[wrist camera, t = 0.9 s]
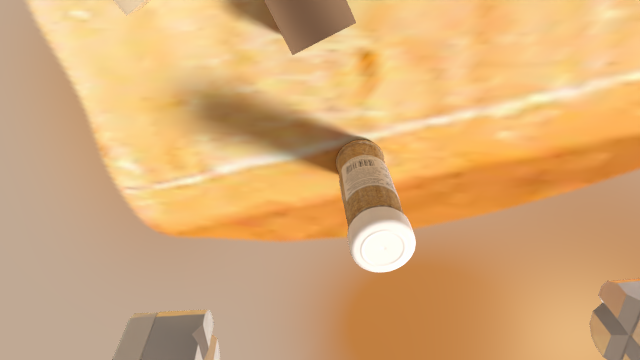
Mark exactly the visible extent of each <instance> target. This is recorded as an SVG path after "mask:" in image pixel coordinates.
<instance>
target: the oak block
mask: <svg viewBox="0 0 640 360" xmlns="http://www.w3.org/2000/svg"><path fill="white" fill-rule="evenodd" d="M113 1H114V2H115V3H116V4H117V5H118V6H119V8H120V9H121V10H122V11H123V12H124V13H125V15H126V16H127V15H129V14H131V13H133V12H134V11H136V10H138V9H140V8H142V7H143V6H144V5H146V4H147V3H148V2H149V1H151V0H113Z"/></svg>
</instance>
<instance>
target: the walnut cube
mask: <svg viewBox="0 0 640 360" xmlns="http://www.w3.org/2000/svg"><path fill="white" fill-rule="evenodd" d="M264 1H265V3H266V5H267V7H268V9H269V11H270V13H271V15H272V17H273V18H274V20H275V22H276V24H277V26H278V28H279V30H280V32H281V34H282V36H283V38H284V40H285V42H286V43H287V45H288V47H289V49H290V51H291V53H292V55H294V54H296V53H298V52H300V51H302V50H304V49H306V48H308V47H310V46H312V45H314V44H315V43H317V42H319V41H321V40H323V39H325V38H327V37H329V36H331V35H333V34H335V33H337V32H339V31H341V30H343V29H345V28H347V27H349V26H351V25H353V24H355V23H356V21H355V19H354V17H353V15H352V12H351V10H350V8H349V5H348V3H347V1H346V0H264Z"/></svg>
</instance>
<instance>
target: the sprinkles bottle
mask: <svg viewBox="0 0 640 360" xmlns="http://www.w3.org/2000/svg"><path fill="white" fill-rule="evenodd" d="M336 168H337V170H338V173H339V178H340V180H339V183H340V189H341V195H342V200H343V203H344V208H345V213H346V219H347V223H348V234H347V238H348V244H349V248H350V253H351V256H352V258H353V259H354V261H355V262H356V263H357V264H358V265H359V266H360V267H362V268H364V269H366V270H368V271H373V272H387V271H392V270H395V269H397V268H399V267H401V266H402V265H404V264H405V263H406V262H407V261H408V260H409V259H410V258H411V256H412V254H413V252H414V250H415V244H416V242H415V236H414V233H413V230H412V227H411V224H410V222H409V220H408V218H407V217H406V216H405V215H404V213H403V210H402V208H401V205H400V200H399V197H398V195H397V192H396V189H395V186H394V184H393V181H392V178H391V176H390V173H389V170H388V168H387V166H386V164H385V161H384V155H383V152H382V151H381V149H380V147H378V146H377V145H376V144H375V143H373V142H371V141H368V140H356V141H352V142H350V143H348V144H346V145H345V146H344V147H343V148H342V149H341V150H340V151H339V153H338V155H337V158H336Z"/></svg>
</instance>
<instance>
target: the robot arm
mask: <svg viewBox="0 0 640 360" xmlns="http://www.w3.org/2000/svg"><path fill="white" fill-rule="evenodd" d="M599 297H600V299H601V300H602V302H603V303H602V304H601V305H600V306H598V307H597V308H596V309H595V310H594V311H593V313H592V317H591V320H590V329H591V336H592V339H593V341H594V343H595V346H596V347H597V348H598V350H599V352H600V353H601V355H602V356H603V357H604V358H606V359H607V360H640V278H638V279H625V280H613V281H607V282H606V283H604V284H603V285H602V287H601V289H600V292H599ZM213 325H214V322H213V318H212V314H211V311H209V310H190V311H168V312H159V313H137V314H134V315H133V316H132V317H131V318H130V320H129V321H128V323H127V326H126V328H125V330H124V333H123V335H122V338H121V340H120V342H119V345H118V347H117V350H116V352H115V354H114V357H113V359H112V360H220V352H219V344H218V340H217V338H216V337H215V336H214V335H212V330H213Z"/></svg>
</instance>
